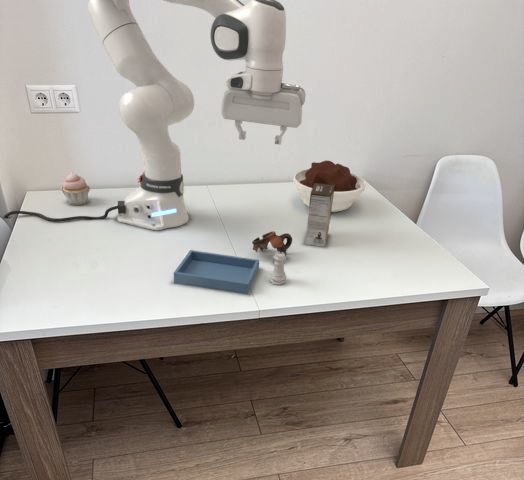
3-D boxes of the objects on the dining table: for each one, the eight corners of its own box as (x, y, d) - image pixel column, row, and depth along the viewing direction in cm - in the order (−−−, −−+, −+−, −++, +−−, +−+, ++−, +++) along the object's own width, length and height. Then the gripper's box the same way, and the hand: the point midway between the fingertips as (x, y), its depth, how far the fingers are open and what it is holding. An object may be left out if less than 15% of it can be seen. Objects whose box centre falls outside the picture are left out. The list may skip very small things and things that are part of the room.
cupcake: (87, 195, 170) (82, 166, 164) (95, 204, 164) (91, 174, 158) (60, 199, 166) (54, 169, 160) (67, 209, 160) (61, 178, 154)
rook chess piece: (277, 275, 132) (279, 248, 128) (289, 281, 130) (292, 254, 125) (266, 280, 130) (267, 253, 125) (278, 287, 127) (280, 259, 123)
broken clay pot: (269, 269, 136) (257, 242, 133) (255, 269, 144) (243, 243, 141) (303, 250, 139) (292, 223, 136) (287, 251, 148) (276, 226, 145)
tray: (174, 283, 126) (173, 272, 125) (190, 259, 137) (190, 249, 135) (247, 294, 124) (248, 284, 122) (258, 269, 134) (259, 259, 133)
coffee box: (308, 232, 156) (314, 182, 146) (328, 235, 155) (335, 184, 145) (304, 244, 148) (310, 192, 139) (325, 247, 148) (332, 195, 138)
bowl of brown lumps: (374, 207, 176) (382, 164, 167) (334, 226, 160) (341, 180, 151) (318, 188, 188) (323, 147, 179) (276, 204, 173) (279, 161, 164)
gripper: (308, 83, 118) (301, 143, 127) (226, 74, 121) (225, 133, 129) (304, 88, 113) (297, 150, 122) (219, 78, 116) (218, 139, 124)
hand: (260, 141), depth 126 cm, fingers open, 8 cm apart
